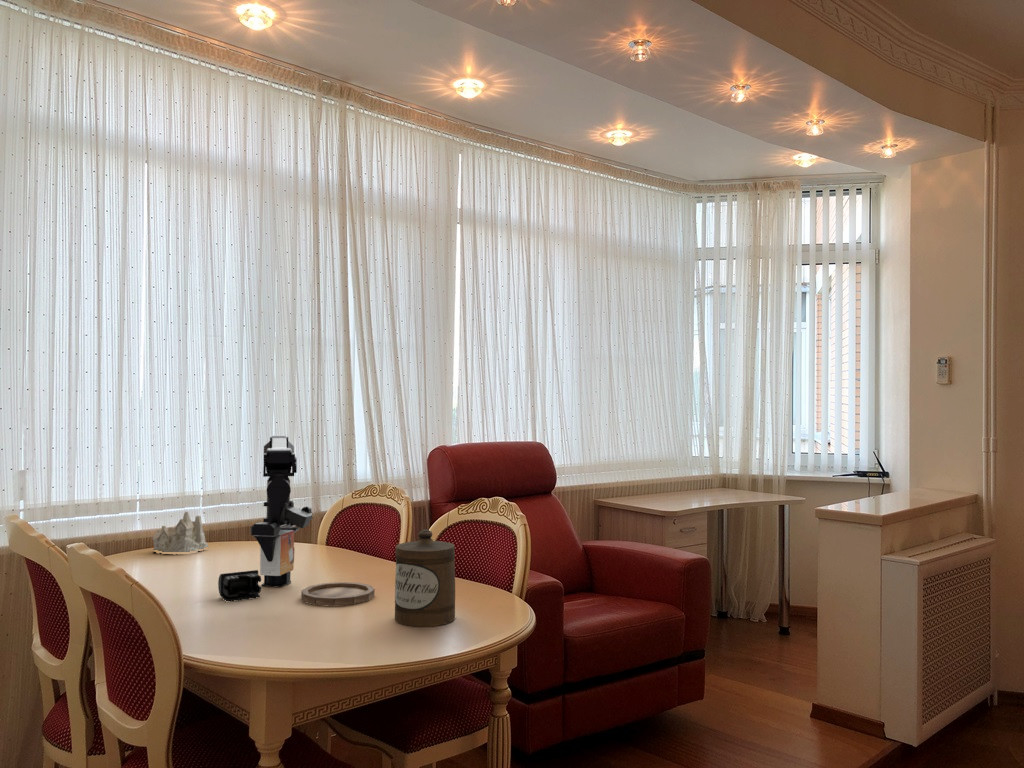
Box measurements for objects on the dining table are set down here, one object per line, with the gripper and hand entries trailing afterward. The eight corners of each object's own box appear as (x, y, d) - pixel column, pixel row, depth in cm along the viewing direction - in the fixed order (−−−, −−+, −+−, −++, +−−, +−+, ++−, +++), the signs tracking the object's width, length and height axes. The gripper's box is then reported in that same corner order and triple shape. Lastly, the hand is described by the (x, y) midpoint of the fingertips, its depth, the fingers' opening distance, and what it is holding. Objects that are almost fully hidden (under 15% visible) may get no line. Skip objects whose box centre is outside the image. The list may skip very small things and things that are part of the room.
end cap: (254, 592, 227) (255, 568, 227) (262, 597, 221) (262, 572, 221) (217, 597, 221) (218, 572, 222) (224, 602, 215) (225, 576, 216)
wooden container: (382, 621, 198) (383, 530, 199) (419, 608, 211) (420, 523, 212) (430, 630, 191) (431, 536, 191) (466, 617, 203) (467, 528, 204)
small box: (279, 576, 205) (280, 534, 205) (259, 575, 206) (260, 533, 206) (294, 569, 213) (294, 529, 213) (274, 568, 214) (275, 528, 214)
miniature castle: (215, 548, 292) (213, 506, 293) (180, 558, 277) (177, 514, 277) (182, 548, 298) (180, 507, 299) (146, 557, 283) (144, 514, 284)
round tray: (290, 603, 214) (290, 596, 214) (318, 587, 233) (318, 580, 233) (359, 607, 211) (359, 599, 211) (382, 590, 230) (382, 583, 230)
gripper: (292, 503, 199) (291, 567, 199) (322, 494, 218) (321, 553, 217) (250, 501, 201) (248, 565, 201) (282, 493, 219) (281, 551, 219)
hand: (277, 558), depth 209 cm, fingers closed on small box, 8 cm apart
